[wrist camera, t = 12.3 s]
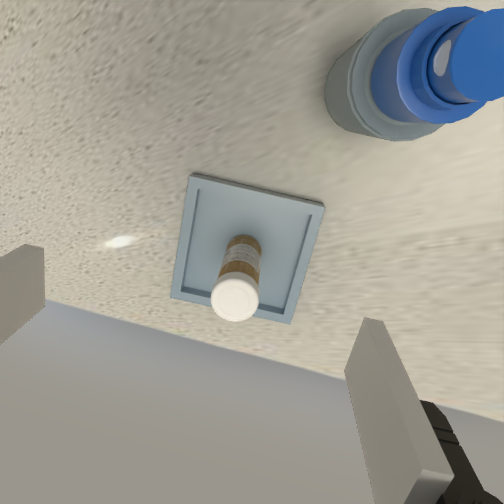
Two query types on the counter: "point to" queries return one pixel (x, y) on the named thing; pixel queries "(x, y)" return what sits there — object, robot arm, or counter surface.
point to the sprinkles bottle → (238, 280)
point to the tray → (251, 224)
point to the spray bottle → (418, 72)
